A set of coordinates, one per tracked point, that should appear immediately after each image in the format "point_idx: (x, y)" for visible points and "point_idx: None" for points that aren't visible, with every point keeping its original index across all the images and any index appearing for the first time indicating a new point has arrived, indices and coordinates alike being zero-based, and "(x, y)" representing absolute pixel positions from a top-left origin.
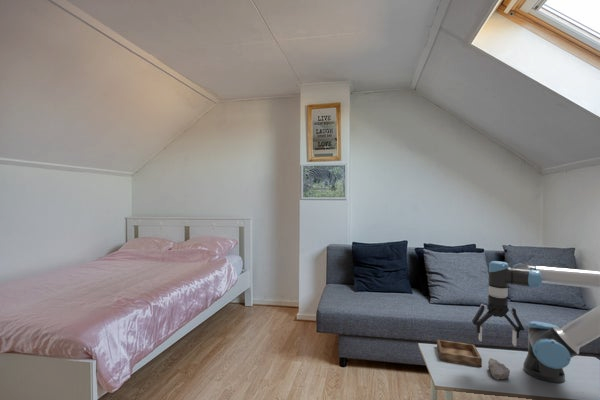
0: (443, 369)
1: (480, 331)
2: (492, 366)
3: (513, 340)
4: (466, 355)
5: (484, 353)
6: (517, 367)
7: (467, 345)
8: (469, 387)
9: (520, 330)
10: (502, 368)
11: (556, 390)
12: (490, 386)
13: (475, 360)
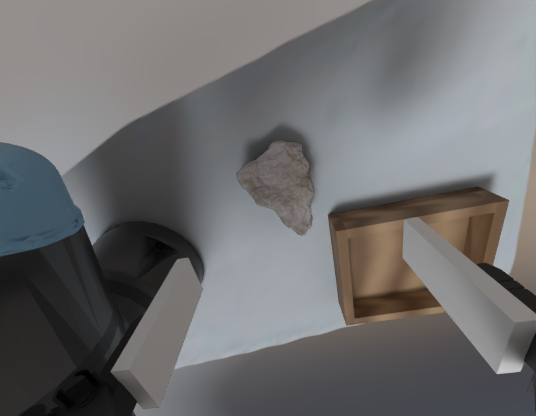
0: (489, 111)
1: (481, 272)
2: (301, 179)
3: (184, 296)
4: (394, 228)
5: (308, 309)
6: (219, 269)
7: (369, 313)
8: None
9: (70, 401)
10: (263, 184)
11: (105, 175)
12: (313, 61)
13: (355, 221)
